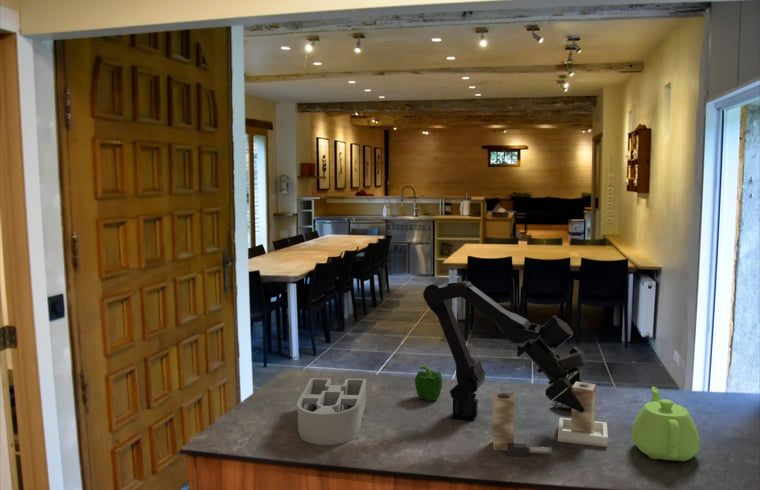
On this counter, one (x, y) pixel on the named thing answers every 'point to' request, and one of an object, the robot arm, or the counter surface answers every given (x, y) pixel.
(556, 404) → the mineral specimen
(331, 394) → the grey compartment organizer
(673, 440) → the teapot
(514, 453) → the pin gauge
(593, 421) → the block
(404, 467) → the counter surface
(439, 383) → the bell pepper
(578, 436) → the tray
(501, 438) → the block
